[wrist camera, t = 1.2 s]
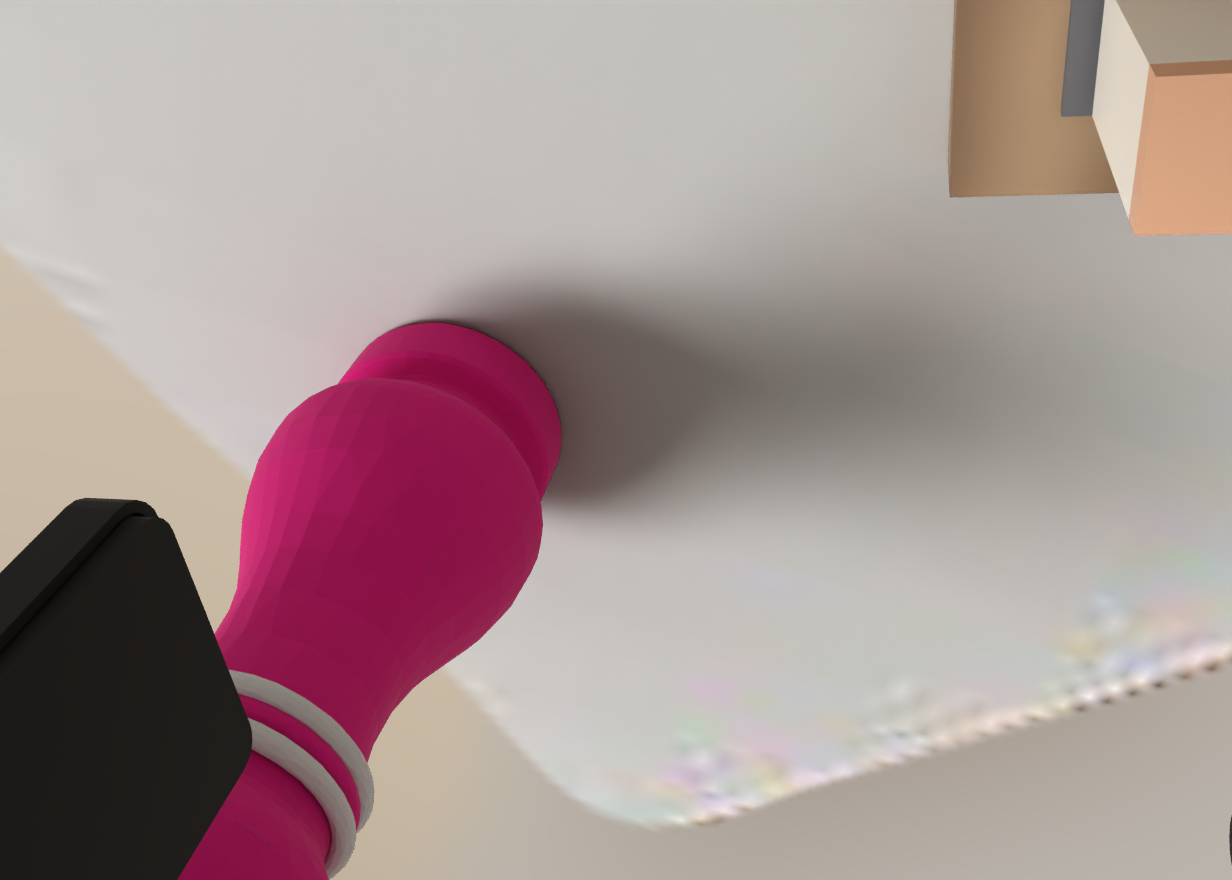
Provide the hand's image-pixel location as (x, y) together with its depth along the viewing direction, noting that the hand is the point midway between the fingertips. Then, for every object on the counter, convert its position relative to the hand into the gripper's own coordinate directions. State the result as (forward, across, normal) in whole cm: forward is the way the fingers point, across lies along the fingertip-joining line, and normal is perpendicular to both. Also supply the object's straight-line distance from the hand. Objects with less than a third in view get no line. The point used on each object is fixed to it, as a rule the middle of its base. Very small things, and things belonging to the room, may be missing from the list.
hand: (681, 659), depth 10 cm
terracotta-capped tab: (+16, -7, 0) cm, 17 cm away
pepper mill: (+19, +10, +10) cm, 24 cm away
